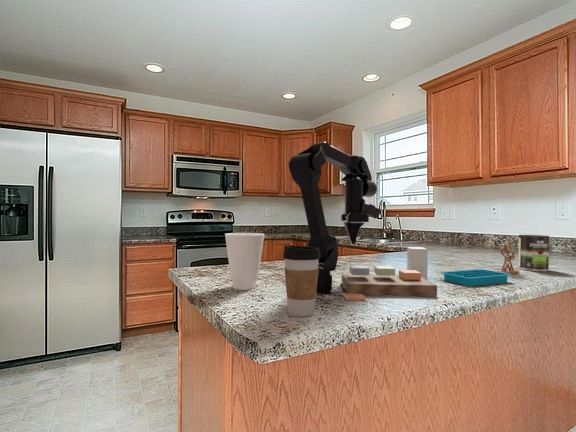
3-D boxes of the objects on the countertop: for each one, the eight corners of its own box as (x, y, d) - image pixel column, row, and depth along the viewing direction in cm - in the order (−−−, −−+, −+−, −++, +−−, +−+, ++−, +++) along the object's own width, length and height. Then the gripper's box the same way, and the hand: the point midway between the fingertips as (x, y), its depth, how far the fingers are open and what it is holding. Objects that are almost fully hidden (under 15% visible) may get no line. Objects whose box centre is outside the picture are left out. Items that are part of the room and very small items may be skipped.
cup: (259, 282, 108) (259, 232, 108) (268, 290, 97) (269, 234, 97) (221, 284, 105) (222, 232, 104) (227, 292, 93) (227, 235, 93)
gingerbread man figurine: (509, 271, 132) (509, 241, 132) (519, 273, 129) (520, 242, 128) (495, 273, 128) (495, 242, 128) (505, 275, 124) (506, 243, 124)
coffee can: (554, 272, 133) (555, 236, 133) (526, 271, 134) (526, 235, 134) (539, 267, 143) (540, 234, 143) (513, 267, 145) (513, 234, 144)
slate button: (352, 274, 99) (352, 268, 99) (349, 272, 104) (349, 265, 104) (369, 275, 98) (369, 268, 98) (365, 272, 103) (366, 265, 103)
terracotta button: (403, 279, 98) (403, 272, 98) (398, 276, 103) (398, 269, 103) (421, 279, 98) (421, 273, 98) (415, 276, 103) (415, 270, 103)
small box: (427, 280, 114) (427, 249, 114) (410, 279, 115) (410, 248, 115) (423, 275, 122) (423, 246, 122) (406, 275, 123) (407, 246, 123)
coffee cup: (281, 307, 79) (281, 244, 79) (316, 307, 80) (317, 244, 80) (283, 319, 71) (284, 247, 71) (323, 318, 71) (323, 247, 71)
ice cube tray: (438, 280, 115) (439, 272, 115) (481, 277, 122) (481, 268, 122) (468, 288, 104) (468, 278, 104) (512, 283, 111) (513, 274, 111)
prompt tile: (345, 300, 86) (345, 298, 86) (343, 295, 91) (343, 293, 91) (365, 300, 86) (365, 298, 86) (361, 295, 91) (361, 293, 91)
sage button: (377, 275, 98) (377, 268, 98) (374, 272, 103) (374, 265, 103) (395, 275, 98) (395, 268, 98) (390, 272, 103) (390, 266, 103)
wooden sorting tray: (348, 294, 92) (348, 283, 92) (341, 283, 107) (341, 274, 107) (436, 296, 91) (437, 285, 91) (417, 284, 106) (417, 275, 106)
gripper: (386, 194, 100) (385, 246, 100) (372, 197, 118) (372, 241, 119) (348, 194, 100) (348, 246, 100) (340, 197, 119) (340, 241, 119)
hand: (353, 243), depth 109 cm, fingers closed
